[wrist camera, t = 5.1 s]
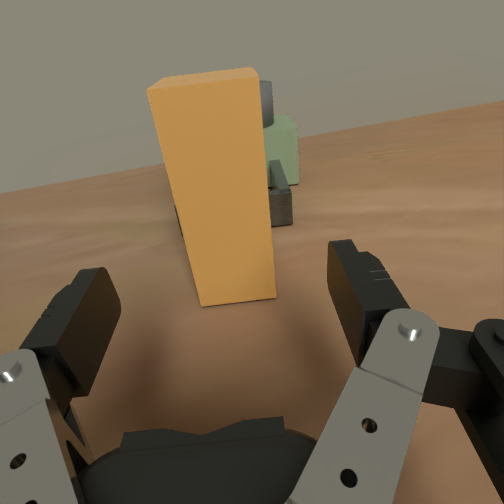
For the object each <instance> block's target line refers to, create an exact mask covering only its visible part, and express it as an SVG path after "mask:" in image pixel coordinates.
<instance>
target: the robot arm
mask: <svg viewBox="0 0 504 504" xmlns="http://www.w3.org/2000/svg"><path fill="white" fill-rule="evenodd" d="M327 283H328V289H329V292H330V295H331V298H332V301H333V303H334V306H335V309H336V311H337V314H338V317H339V320H340V322H341V325H342V328H343V330H344V333H345V336H346V338H347V341H348V344H349V346H350V349H351V352H352V355H353V357H354V360H355V363H356V365H357V366H356V367H355V368H354V369H353V371H352V373H351V375H350V377H349V379H348V381H347V383H346V385H345V387H344V389H343V391H342V393H341V395H340V397H339V399H338V401H337V403H336V405H335V407H334V409H333V411H332V413H331V415H330V417H329V419H328V421H327V424H326V426H325V428H324V430H323V432H322V434H321V436H320V438H319V440H318V441H317V440H315V439H314V438H312V437H310V436H308V435H306V434H303V433H301V432H297V431H294V430H289V429H284V421H283V416H281V417H272V418H262V419H252V420H243V421H241V422H238V423H235V424H232V425H230V426H227V427H224V428H222V429H219V430H216V431H213V432H211V433H208V434H205V435H196V434H191V433H185V432H179V431H174V430H168V429H154V430H145V431H135V432H125V433H124V435H123V439H122V442H121V446H120V447H118V448H116V449H114V450H112V451H110V452H108V453H106V454H104V455H103V456H101V457H100V458H98V459H97V460H95V458H94V456H93V454H92V452H91V450H90V447H89V445H88V442H87V440H86V437H85V435H84V432H83V430H82V427H81V425H80V422H79V420H78V417H77V415H76V412H75V410H74V408H73V407H72V405H71V404H70V402H71V400H72V398H74V397H83V396H88V395H89V392H90V390H91V387H92V385H93V382H94V380H95V377H96V375H97V372H98V370H99V367H100V365H101V362H102V360H103V357H104V355H105V352H106V350H107V347H108V345H109V342H110V340H111V337H112V335H113V332H114V330H115V327H116V325H117V322H118V320H119V317H120V314H121V303H120V299H119V297H118V295H117V292H116V290H115V288H114V285H113V283H112V281H111V278H110V276H109V274H108V272H107V270H106V269H105V268H104V267H100V268H91V269H82V270H80V271H79V272H78V274H77V275H76V277H75V278H74V280H73V281H72V283H71V284H70V285H67V286H66V287H64V288H63V289H62V290H61V291H60V292H58V293H57V294H56V295H55V296H54V297H53V299H52V300H51V302H50V303H49V305H48V306H47V309H45V311H44V312H43V314H42V315H41V318H39V319H38V321H37V322H36V324H35V325H34V327H33V328H32V330H31V331H30V333H29V334H28V336H27V337H26V339H25V340H24V342H23V343H22V345H21V346H20V347H19V349H18V350H15V351H12V352H9V353H7V354H4V355H3V356H1V357H0V504H392V502H393V498H394V495H395V491H396V488H397V484H398V481H399V477H400V474H401V470H402V467H403V463H404V460H405V456H406V453H407V449H408V446H409V442H410V439H411V435H412V432H413V428H414V425H415V421H416V418H417V414H418V411H419V407H420V404H421V402H425V403H430V404H435V405H440V406H445V407H450V408H454V410H455V411H456V413H457V415H458V417H459V419H460V421H461V423H462V425H463V427H464V429H465V431H466V433H467V435H468V436H469V438H470V440H471V442H472V444H473V446H474V448H475V450H476V452H477V454H478V456H479V458H480V460H481V461H482V463H483V465H484V467H485V469H486V471H487V473H488V475H489V477H490V479H491V481H492V483H493V485H494V486H495V488H496V490H497V492H498V494H499V496H500V498H501V500H502V502H503V504H504V320H502V319H486V320H482V321H480V322H479V323H478V324H476V326H475V328H474V331H473V332H470V331H462V330H455V329H448V328H442V327H438V326H437V324H436V323H435V321H434V320H433V319H431V318H430V317H429V316H427V315H426V314H424V313H422V312H419V311H417V310H413V309H411V308H410V307H409V305H408V304H407V302H406V301H405V299H404V298H403V296H402V294H401V293H400V291H399V290H398V288H397V287H396V285H395V284H394V282H393V280H392V279H390V276H389V274H388V273H387V271H385V268H384V266H383V265H382V263H381V262H380V260H379V259H378V258H376V257H375V256H373V255H372V254H370V253H369V252H368V251H366V252H358V250H357V249H356V247H355V245H354V243H353V242H352V240H351V239H347V240H338V241H330V242H329V244H328V262H327Z"/></svg>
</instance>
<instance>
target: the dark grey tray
mask: <svg viewBox="0 0 504 504" xmlns="http://www.w3.org/2000/svg"><path fill="white" fill-rule="evenodd" d="M270 169H271V183H272V190H270V191H268V196H269V208H270V221H271V226H279V225H287V224H293V218H292V193H291V190H290V187H289V185H288V182H287V179H286V177H285V174H284V171H283V168H282V166H281V163H280V160H279V159H278V160H270ZM174 207H175V211H176V214H177V218H178V222H179V226H180V230H181V234H182V236H183V233H182V229H181V225H180V221H179V217H178V213H177V209H176V205H175V206H174Z"/></svg>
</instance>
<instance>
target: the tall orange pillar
mask: <svg viewBox="0 0 504 504" xmlns="http://www.w3.org/2000/svg"><path fill="white" fill-rule="evenodd" d="M146 91H147V94H148V99H149V103H150V107H151V110H152V114H153V118H154V122H155V126H156V130H157V134H158V138H159V142H160V146H161V150H162V154H163V158H164V161H165V166H166V170H167V174H168V177H169V181H170V185H171V189H172V193H173V197H174V201H175V205H176V209H177V213H178V217H179V221H180V225H181V229H182V233H183V237H184V241H185V244H186V248H187V252H188V256H189V260H190V264H191V268H192V272H193V276H194V280H195V284H196V288H197V292H198V296H199V300H200V304H201V307H203V306H211V305H219V304H228V303H236V302H245V301H253V300H261V299H270V298H277V295H276V283H275V270H274V258H273V246H272V233H271V221H270V208H269V196H268V184H267V171H266V159H265V147H264V134H263V122H262V110H261V97H260V85H259V76H258V74H257V73H256V72H255V70H254V69H253V68H252V67H246V68H237V69H229V70H221V71H213V72H205V73H196V74H188V75H180V76H173V77H165V78H163V79H161V80H160V81H158V82H157V83H155V84H154V85H152V86H151V87H150V88H148V89H147V90H146Z"/></svg>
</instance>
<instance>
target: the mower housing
mask: <svg viewBox="0 0 504 504" xmlns="http://www.w3.org/2000/svg"><path fill="white" fill-rule="evenodd" d="M259 85H260V97H261V110H262V122H263V134H264V147H265V159H266V171H267V184H268V187H272V183H271V169H270V160H278V159H279V160H280V163H281V166H282V168H283V171H284V174H285V177H286V179H287V182H288V185H290V184H299V170H298V131H297V130H298V129H297V127H296V125H295V124H294V122H293V121H292V119H291V118H290V117H289V115H288V114H286V115H278V116H274V114H273V99H272V98H273V97H272V83H271V82H270V81H259Z"/></svg>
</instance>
